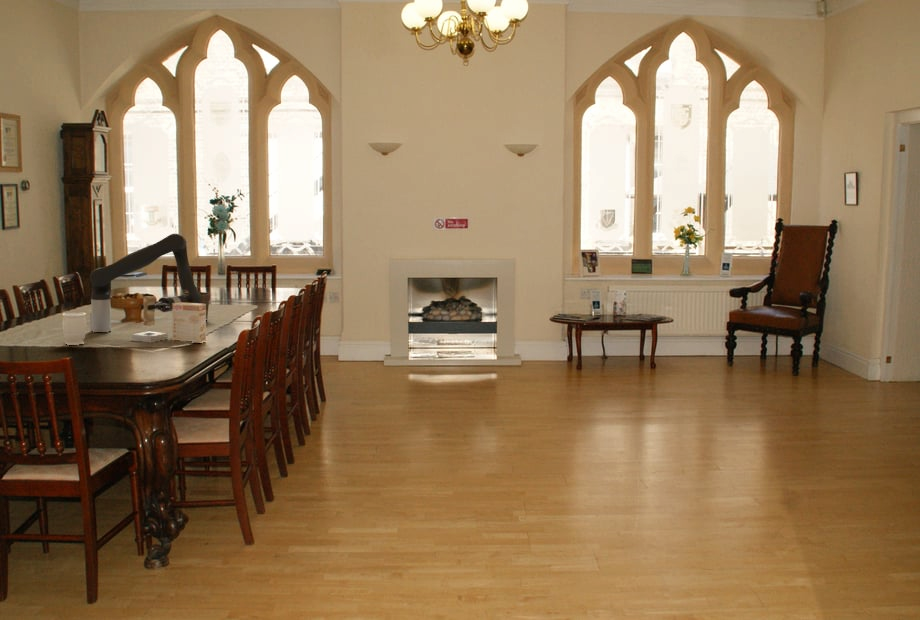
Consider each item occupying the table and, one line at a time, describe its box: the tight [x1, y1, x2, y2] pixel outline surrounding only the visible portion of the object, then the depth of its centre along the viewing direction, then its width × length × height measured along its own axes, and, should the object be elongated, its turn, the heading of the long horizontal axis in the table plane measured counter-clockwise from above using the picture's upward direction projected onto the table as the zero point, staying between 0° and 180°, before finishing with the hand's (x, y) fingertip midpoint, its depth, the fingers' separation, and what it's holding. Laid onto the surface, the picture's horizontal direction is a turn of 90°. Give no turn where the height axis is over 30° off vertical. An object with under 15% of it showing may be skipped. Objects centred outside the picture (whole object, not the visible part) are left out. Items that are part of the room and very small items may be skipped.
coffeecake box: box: [171, 302, 207, 342], centre depth 440 cm, size 15×7×20 cm, turn 74°
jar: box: [61, 311, 87, 346], centre depth 424 cm, size 11×10×15 cm
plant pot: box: [181, 291, 212, 320], centre depth 510 cm, size 16×16×16 cm
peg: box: [143, 295, 156, 326], centre depth 437 cm, size 4×4×14 cm
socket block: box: [130, 331, 169, 344], centre depth 438 cm, size 12×12×4 cm
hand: (144, 307), depth 434 cm, fingers closed on peg, 3 cm apart
